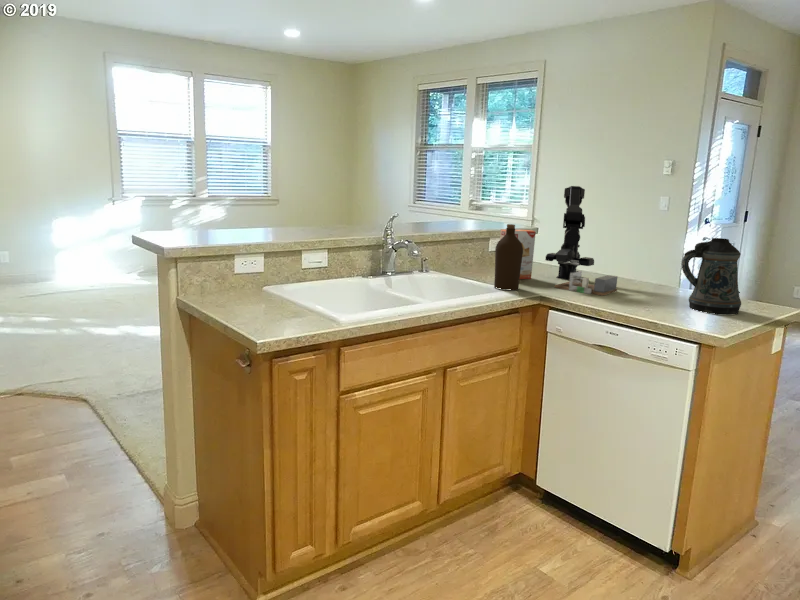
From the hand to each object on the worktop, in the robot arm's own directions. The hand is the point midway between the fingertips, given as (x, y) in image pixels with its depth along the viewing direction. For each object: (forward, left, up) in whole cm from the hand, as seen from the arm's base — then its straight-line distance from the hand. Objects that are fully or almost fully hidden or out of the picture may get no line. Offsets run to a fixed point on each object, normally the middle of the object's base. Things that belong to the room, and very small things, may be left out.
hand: (567, 280), depth 247 cm
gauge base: (+8, 0, -2) cm, 8 cm away
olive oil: (-14, -24, -3) cm, 28 cm away
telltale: (+10, -5, -1) cm, 11 cm away
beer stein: (+54, 0, -3) cm, 54 cm away
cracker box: (-24, -1, -3) cm, 24 cm away
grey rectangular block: (+16, 0, -1) cm, 16 cm away
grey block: (+5, -1, -1) cm, 6 cm away
